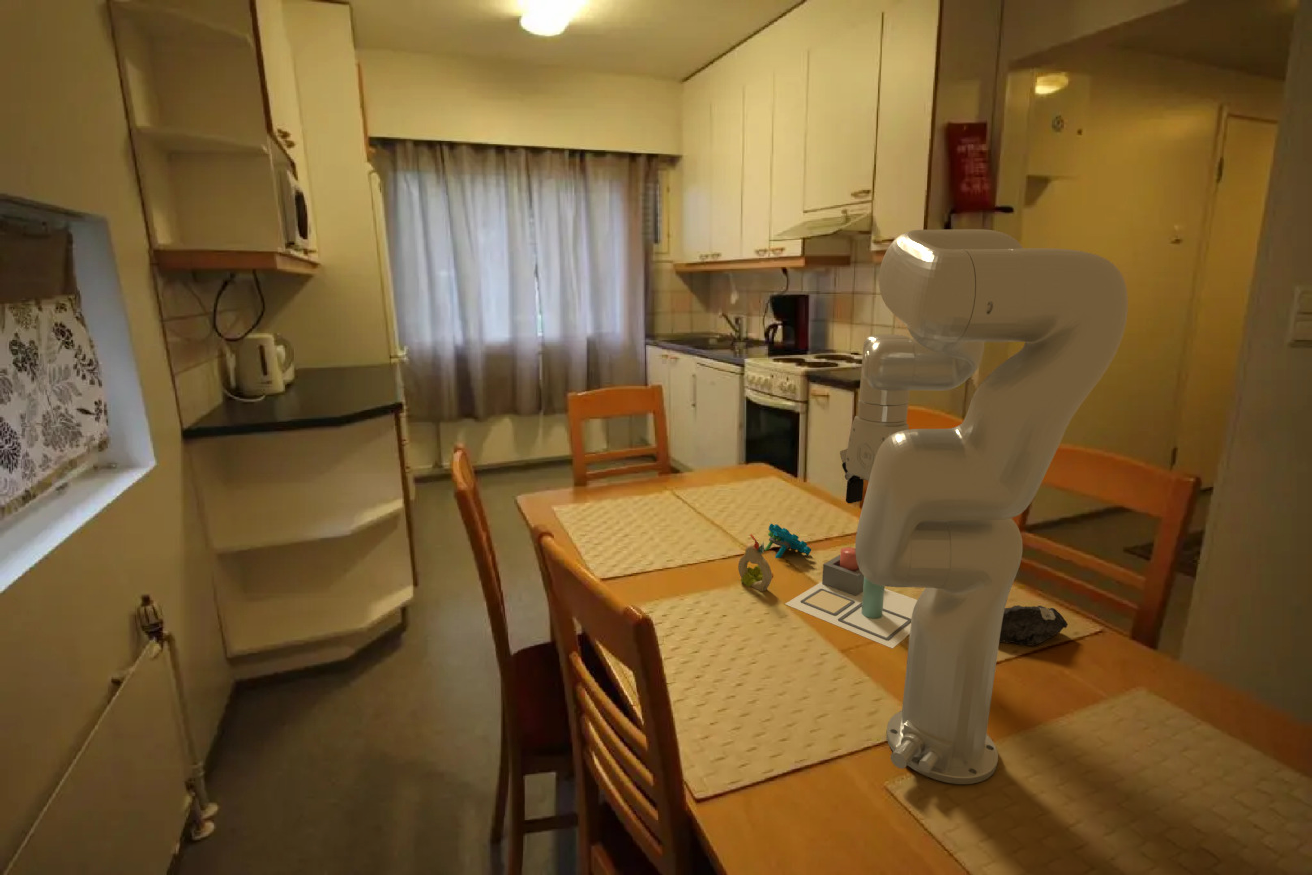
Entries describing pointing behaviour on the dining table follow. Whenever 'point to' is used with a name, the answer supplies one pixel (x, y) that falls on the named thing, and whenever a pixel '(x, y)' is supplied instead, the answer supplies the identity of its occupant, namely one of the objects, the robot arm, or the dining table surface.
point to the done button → (848, 559)
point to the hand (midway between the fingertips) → (873, 511)
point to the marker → (872, 600)
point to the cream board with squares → (859, 613)
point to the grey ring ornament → (761, 572)
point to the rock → (1030, 624)
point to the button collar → (842, 577)
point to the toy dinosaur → (785, 540)
